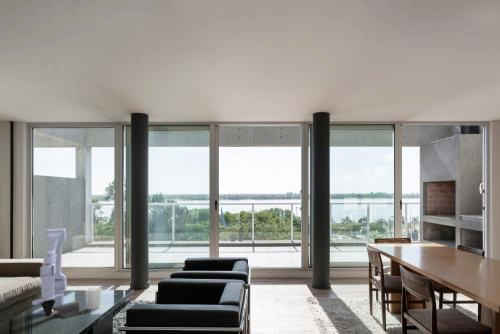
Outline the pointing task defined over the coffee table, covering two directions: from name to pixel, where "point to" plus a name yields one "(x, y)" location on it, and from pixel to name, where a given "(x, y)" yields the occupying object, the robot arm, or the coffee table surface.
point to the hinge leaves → (68, 310)
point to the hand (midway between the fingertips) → (47, 316)
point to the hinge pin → (53, 313)
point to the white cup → (93, 298)
